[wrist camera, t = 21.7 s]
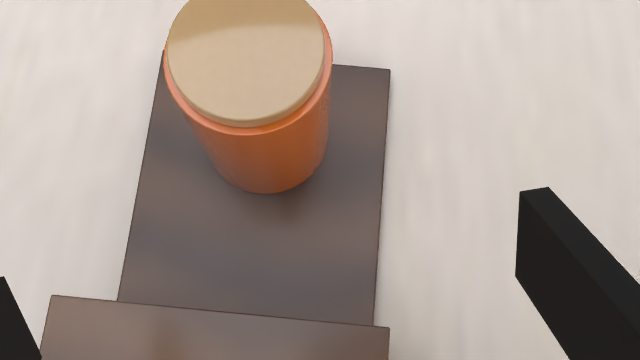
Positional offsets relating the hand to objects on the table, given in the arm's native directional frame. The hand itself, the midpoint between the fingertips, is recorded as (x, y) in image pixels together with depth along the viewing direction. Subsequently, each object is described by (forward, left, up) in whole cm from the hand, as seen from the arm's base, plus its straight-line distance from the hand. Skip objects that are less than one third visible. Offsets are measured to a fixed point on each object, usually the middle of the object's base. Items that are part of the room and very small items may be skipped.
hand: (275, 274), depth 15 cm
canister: (-9, -3, -15) cm, 18 cm away
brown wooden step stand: (-2, -3, -16) cm, 16 cm away
